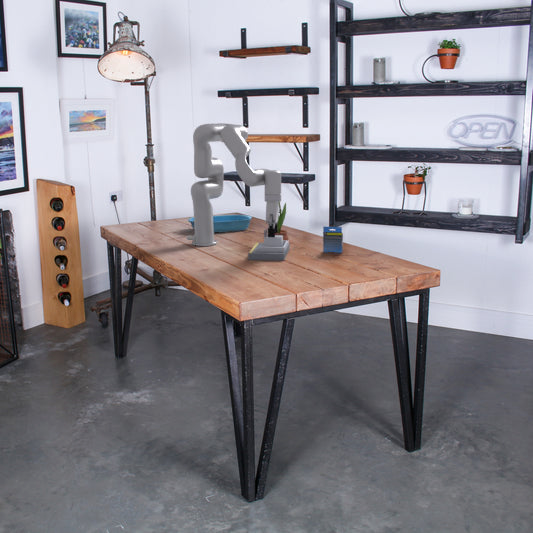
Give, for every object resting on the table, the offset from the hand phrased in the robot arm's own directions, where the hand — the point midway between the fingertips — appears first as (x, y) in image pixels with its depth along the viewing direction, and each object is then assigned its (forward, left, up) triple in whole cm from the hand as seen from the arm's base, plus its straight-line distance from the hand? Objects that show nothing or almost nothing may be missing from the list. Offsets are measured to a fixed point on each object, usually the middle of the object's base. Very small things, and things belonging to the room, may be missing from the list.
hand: (272, 235), depth 295 cm
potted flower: (-2, +28, -9) cm, 29 cm away
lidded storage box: (0, 0, -6) cm, 6 cm away
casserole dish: (-38, +62, -10) cm, 73 cm away
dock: (-2, 0, -9) cm, 9 cm away
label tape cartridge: (+27, +7, -9) cm, 30 cm away
